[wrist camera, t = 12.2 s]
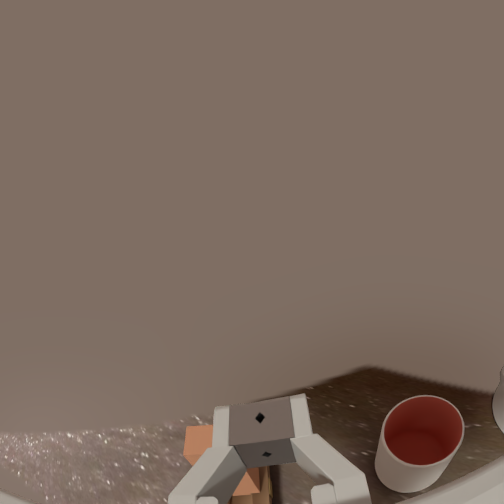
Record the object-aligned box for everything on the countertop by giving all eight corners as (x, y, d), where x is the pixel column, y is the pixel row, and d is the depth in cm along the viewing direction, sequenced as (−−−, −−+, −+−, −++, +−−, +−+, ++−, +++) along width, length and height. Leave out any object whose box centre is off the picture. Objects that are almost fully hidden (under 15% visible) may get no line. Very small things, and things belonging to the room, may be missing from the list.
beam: (270, 444, 41) (266, 431, 39) (278, 549, 26) (273, 544, 24) (222, 449, 41) (214, 437, 40) (219, 551, 26) (209, 546, 24)
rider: (260, 472, 34) (235, 422, 28) (261, 495, 31) (234, 452, 25) (222, 475, 34) (186, 426, 29) (222, 498, 31) (183, 455, 26)
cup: (366, 446, 37) (371, 409, 32) (429, 424, 36) (444, 384, 32) (383, 505, 28) (395, 480, 23) (453, 478, 27) (477, 445, 23)
